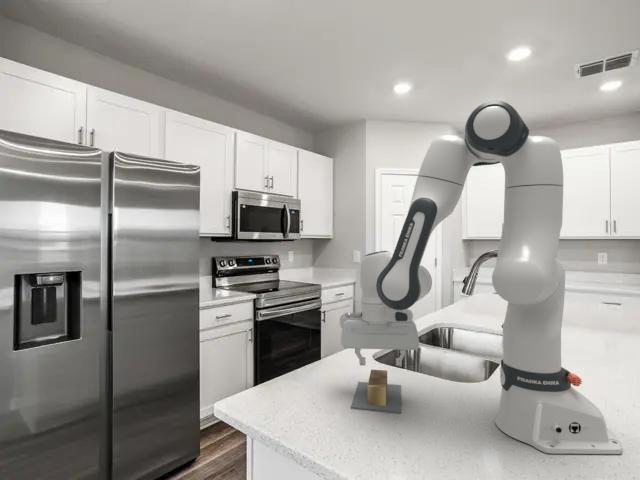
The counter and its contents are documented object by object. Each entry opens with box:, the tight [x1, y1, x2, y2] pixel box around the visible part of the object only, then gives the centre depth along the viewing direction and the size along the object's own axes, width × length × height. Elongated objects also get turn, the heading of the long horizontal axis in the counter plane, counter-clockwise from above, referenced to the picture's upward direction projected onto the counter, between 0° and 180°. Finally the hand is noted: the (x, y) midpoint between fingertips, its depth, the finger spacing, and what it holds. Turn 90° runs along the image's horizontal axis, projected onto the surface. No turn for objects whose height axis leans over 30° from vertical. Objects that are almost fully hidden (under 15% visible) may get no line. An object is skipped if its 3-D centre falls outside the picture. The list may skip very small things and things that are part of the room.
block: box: [367, 369, 388, 406], centre depth 95 cm, size 4×4×12 cm
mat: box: [350, 381, 402, 414], centre depth 95 cm, size 12×16×1 cm
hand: (380, 365), depth 95 cm, fingers open, 8 cm apart
